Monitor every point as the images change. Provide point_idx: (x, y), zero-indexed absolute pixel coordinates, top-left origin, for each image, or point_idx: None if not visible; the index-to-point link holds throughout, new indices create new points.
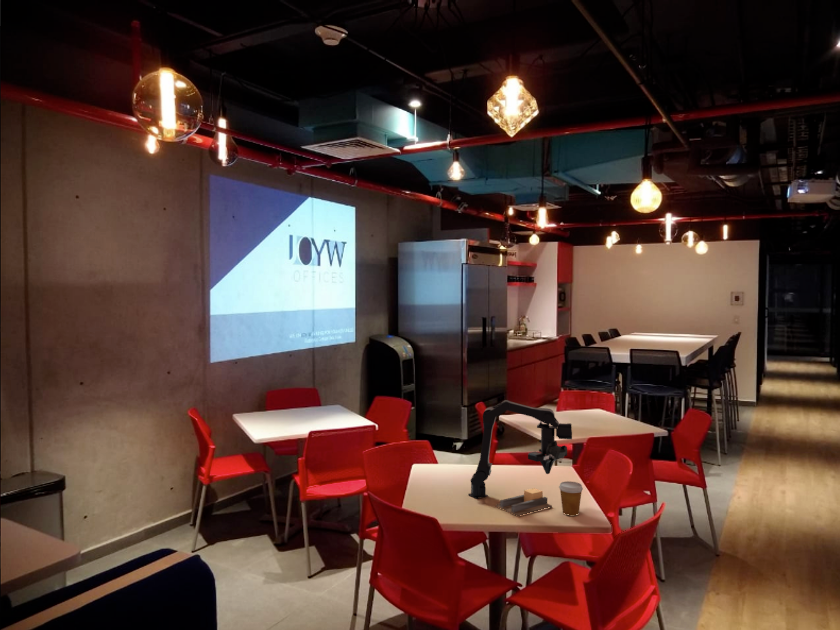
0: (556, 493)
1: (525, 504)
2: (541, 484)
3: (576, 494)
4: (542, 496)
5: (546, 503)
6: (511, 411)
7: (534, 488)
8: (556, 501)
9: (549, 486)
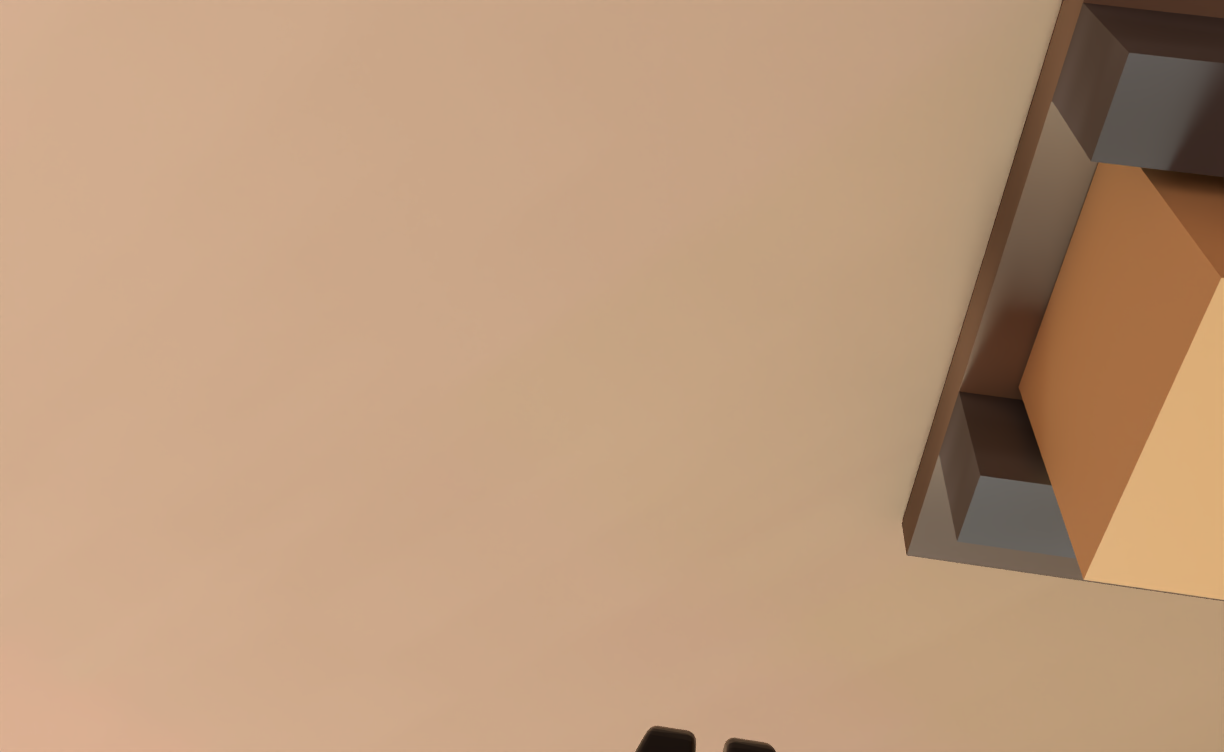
0: (198, 361)
1: None
2: (137, 724)
3: None
4: (1163, 199)
5: (1119, 8)
6: None
7: (1122, 558)
8: (582, 54)
9: (74, 617)
